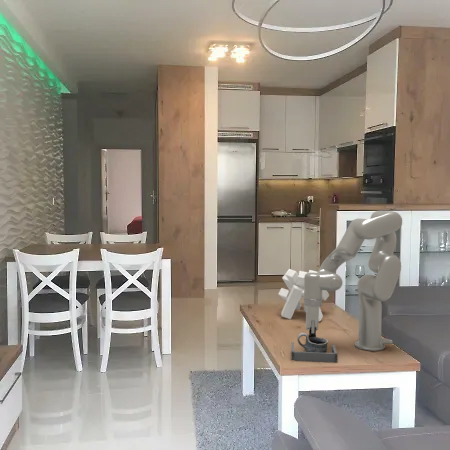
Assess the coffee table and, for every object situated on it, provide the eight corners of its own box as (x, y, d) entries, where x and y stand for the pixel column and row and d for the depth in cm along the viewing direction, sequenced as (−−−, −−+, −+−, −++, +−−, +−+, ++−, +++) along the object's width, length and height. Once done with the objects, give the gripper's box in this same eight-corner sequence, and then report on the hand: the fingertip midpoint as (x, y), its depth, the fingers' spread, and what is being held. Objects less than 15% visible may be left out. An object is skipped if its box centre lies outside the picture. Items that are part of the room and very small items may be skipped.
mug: (331, 359, 197) (332, 335, 197) (302, 361, 195) (302, 337, 194) (322, 352, 207) (322, 328, 206) (294, 354, 204) (294, 330, 204)
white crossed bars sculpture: (276, 316, 290) (258, 267, 277) (322, 296, 292) (306, 246, 278) (296, 349, 258) (276, 296, 244) (347, 327, 260) (331, 272, 246)
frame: (334, 352, 207) (334, 344, 207) (337, 362, 194) (337, 354, 194) (291, 350, 209) (291, 342, 209) (291, 360, 196) (291, 352, 196)
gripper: (303, 298, 215) (303, 339, 217) (304, 305, 201) (303, 349, 202) (321, 298, 214) (320, 340, 215) (322, 306, 200) (322, 350, 201)
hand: (312, 344), depth 209 cm, fingers closed
